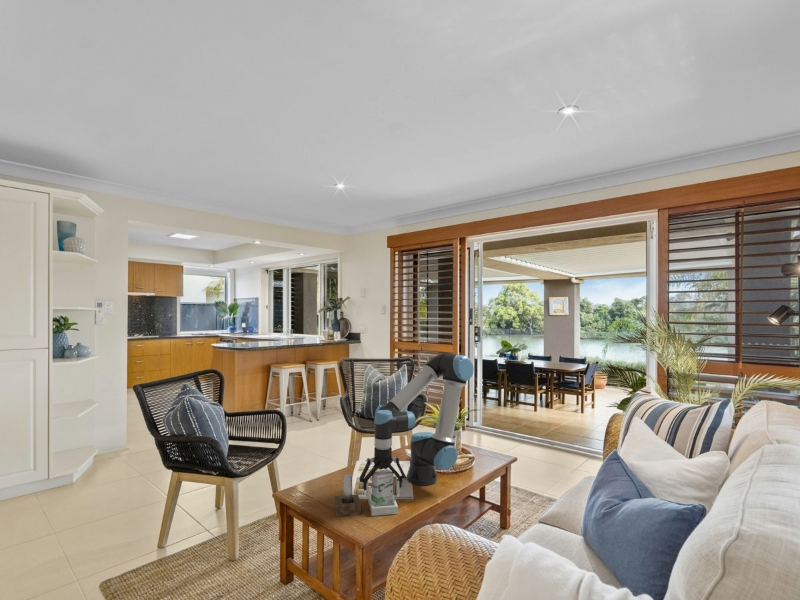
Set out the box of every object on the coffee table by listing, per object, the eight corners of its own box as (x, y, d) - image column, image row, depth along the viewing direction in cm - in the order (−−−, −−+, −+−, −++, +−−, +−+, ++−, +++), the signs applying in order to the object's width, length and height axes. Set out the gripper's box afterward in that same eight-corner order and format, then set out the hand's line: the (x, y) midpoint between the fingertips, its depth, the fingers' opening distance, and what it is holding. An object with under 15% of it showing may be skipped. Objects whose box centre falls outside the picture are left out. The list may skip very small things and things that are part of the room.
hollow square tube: (358, 503, 186) (358, 494, 186) (360, 514, 176) (360, 504, 176) (335, 505, 184) (335, 496, 184) (336, 516, 174) (336, 506, 174)
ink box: (376, 504, 179) (376, 476, 179) (370, 499, 183) (371, 472, 183) (393, 499, 183) (394, 472, 184) (387, 495, 188) (388, 468, 188)
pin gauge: (351, 506, 182) (351, 473, 183) (352, 510, 179) (352, 476, 179) (343, 506, 182) (343, 474, 182) (343, 510, 178) (344, 477, 178)
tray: (392, 498, 191) (392, 491, 191) (397, 513, 177) (398, 506, 177) (367, 500, 189) (367, 493, 189) (371, 515, 175) (371, 508, 175)
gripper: (409, 442, 190) (408, 490, 189) (353, 445, 185) (353, 494, 184) (412, 448, 182) (412, 497, 182) (355, 451, 177) (354, 502, 177)
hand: (382, 496), depth 183 cm, fingers open, 13 cm apart
